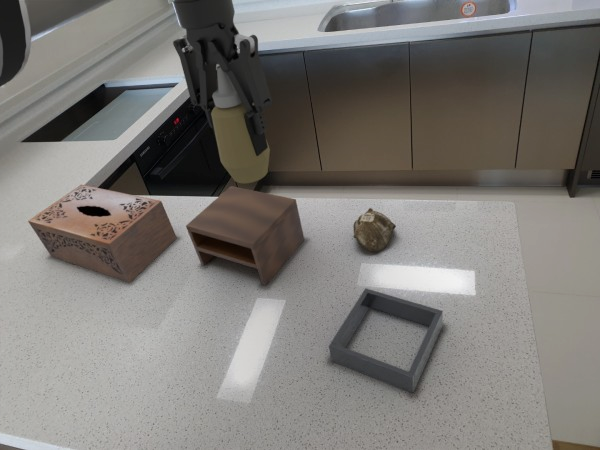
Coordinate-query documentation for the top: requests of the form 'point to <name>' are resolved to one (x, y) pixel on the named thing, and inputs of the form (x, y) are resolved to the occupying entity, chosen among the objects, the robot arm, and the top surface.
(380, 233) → the fossilized seashell
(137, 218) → the tissue box cover
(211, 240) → the wooden shelf
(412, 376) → the holder
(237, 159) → the squeeze bottle
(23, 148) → the top surface
